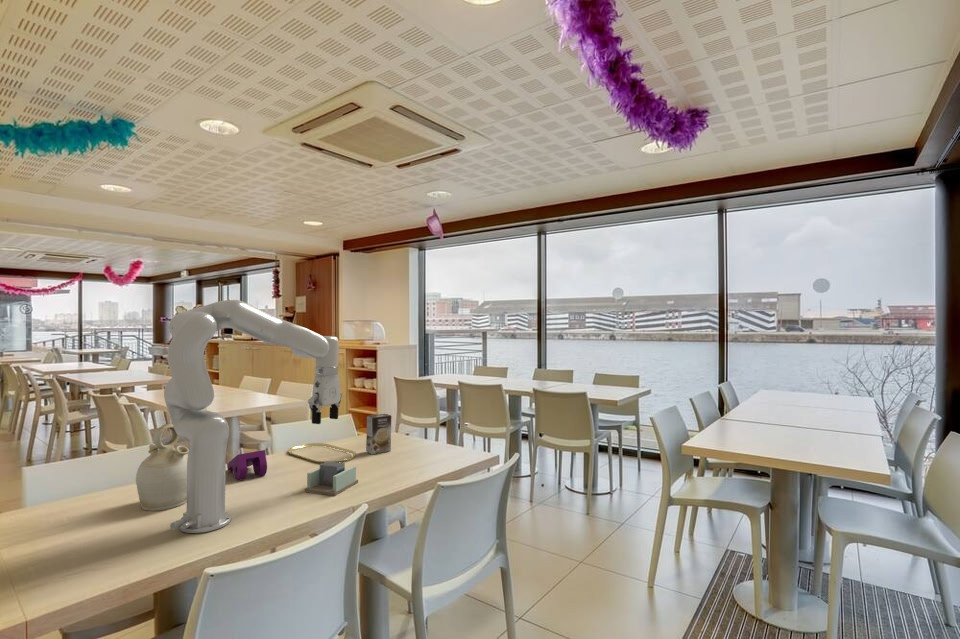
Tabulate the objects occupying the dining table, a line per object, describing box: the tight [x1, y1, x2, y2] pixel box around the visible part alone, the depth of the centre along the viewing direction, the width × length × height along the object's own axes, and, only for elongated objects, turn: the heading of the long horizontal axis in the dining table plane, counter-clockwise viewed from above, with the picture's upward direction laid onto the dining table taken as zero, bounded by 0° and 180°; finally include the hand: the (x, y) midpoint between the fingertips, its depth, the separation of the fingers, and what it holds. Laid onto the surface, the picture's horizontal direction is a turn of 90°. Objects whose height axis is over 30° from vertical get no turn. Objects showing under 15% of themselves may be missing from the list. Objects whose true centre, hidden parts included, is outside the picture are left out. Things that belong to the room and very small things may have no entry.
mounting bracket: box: [226, 449, 268, 482], centre depth 181 cm, size 10×8×18 cm
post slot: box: [304, 465, 359, 497], centre depth 168 cm, size 14×12×6 cm
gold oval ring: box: [287, 442, 357, 464], centre depth 209 cm, size 19×35×2 cm, turn 52°
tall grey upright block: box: [319, 460, 346, 487], centre depth 168 cm, size 4×7×7 cm, turn 72°
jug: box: [135, 423, 190, 512], centre depth 152 cm, size 15×16×25 cm
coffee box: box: [365, 413, 392, 455], centre depth 214 cm, size 9×6×16 cm
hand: (325, 421), depth 167 cm, fingers open, 9 cm apart
